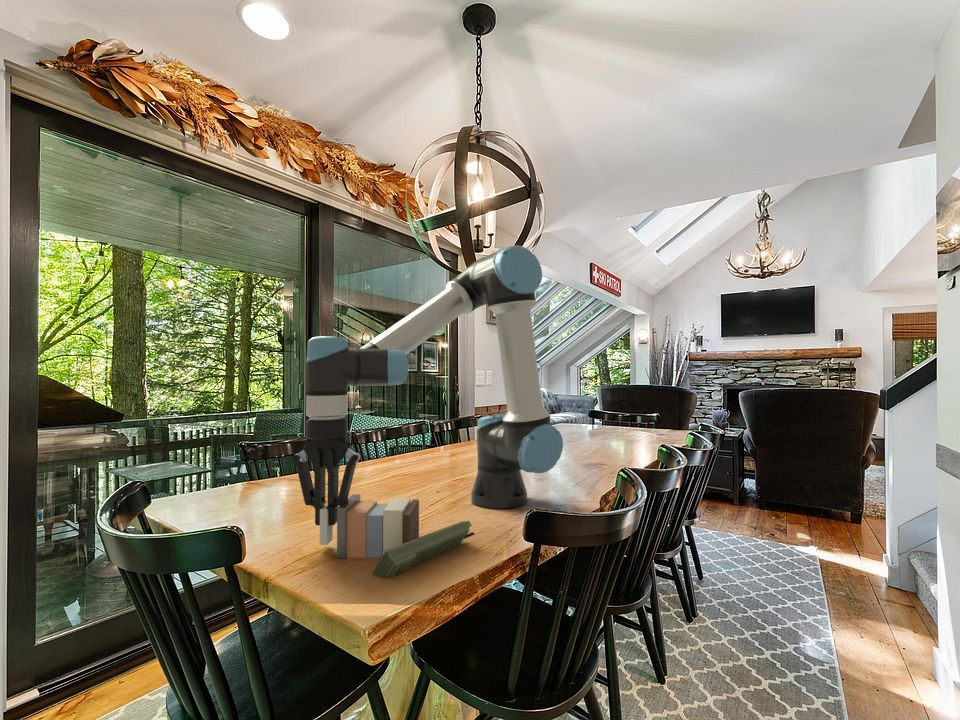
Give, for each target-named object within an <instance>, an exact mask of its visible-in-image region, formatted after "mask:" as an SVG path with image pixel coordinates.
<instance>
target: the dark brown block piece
mask: <svg viewBox="0 0 960 720" xmlns="http://www.w3.org/2000/svg"><path fill="white" fill-rule="evenodd" d="M419 537H420V499H414V498H413V499H411V503H410V505H409V506H408V508H407V510H406V511H405V513H404V514H403V544H404V543H406V542H409V541H411V540H414V539H417V538H419Z"/></svg>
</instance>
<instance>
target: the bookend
mask: <svg viewBox="0 0 960 720" xmlns="http://www.w3.org/2000/svg"><path fill="white" fill-rule="evenodd" d="M359 501H361V494H359V493H358V494H357V493H356V494H353V493H352V494H351V495H350V496H348V499H347V500H346V501H345V502H343V503H342V504H341V505H340V506H338V508H337V523H336V559H343V560H344V559H346V513H347V512H348V511H349V510H350V509H351V508H352V507H353V506H354V505H355V504H356V503H358V502H359Z"/></svg>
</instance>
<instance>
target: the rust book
mask: <svg viewBox="0 0 960 720" xmlns="http://www.w3.org/2000/svg"><path fill="white" fill-rule="evenodd" d="M376 504H378V500H360V501H359V502H358V503H356V504H355V505H354V506H353V507H352V508H351V509H350V510H349V511H348V512H347V513H346V558H347V559H351V558H353V559H363V558H364V559H365V558H367V557H366V515H367V514H368V513H369V512H370V510H371V509H372V508H373V507H374V506H375V505H376ZM346 558H345V559H346Z"/></svg>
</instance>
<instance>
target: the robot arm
mask: <svg viewBox="0 0 960 720" xmlns="http://www.w3.org/2000/svg"><path fill="white" fill-rule="evenodd" d="M540 263H541V262H540V261H539V259H538V258H537V256H536V255H535V254H534V253H532V252H531V251H530V249H528V248H527V247H525V246H521V245H510V246H507V247H502V248H500V249H498V250H497V251H495V252H492V253H491V254H489V255H488V254H487V255H486V256H484V257H482V258H479V259H477V260H475V261H474V262H473V263H471V264H470V265H469V266H468V267H467V268H466V269H465V270H463V271H461V273H459V274H458V275H457V276H455V277H454V278H452V279H451V280H450V281H448V282H447V283H446V286H445V289H444V290H442V291H441V292H439V293H438V294H437V295H435V296H434V297H432V298H431V299H429V300H428V301H427V302H425V303H424V304H422V305H420V306H419V307H418V308H416V309H415V310H413V311H412V312H410V313H409V314H408V315H406V316H405V317H403V318H402V319H400V320H398V321H397V322H396V323H394V324H393V325H392V326H390V327H389V328H387V329H386V330H384V331H383V332H381V333H380V334H379V335H377V336H376V337H374V338H373V339H371V340H370V341H369V342H367V343H365V344H364V345H363V346H361V347H359V348H355V347H350V346H349V341H348V339H347V338H346V337H345V336H344V337H343V336H332V335H331V336H328V335H327V336H325V335H322V336H314V337H311V338H310V339H309V340H308V341H307V348H306V359H305V363H306V364H305V365H306V368H305V370H306V372H305V373H306V374H305V376H306V378H305V379H306V380H305V381H306V382H305V383H306V386H305V387H306V391H305V392H306V396H305V398H306V399H305V401H306V402H305V415H306V416H307V417H308V418H307V420H306V421H305V439H306V440H305V443H304V445H303V449H302V450H301V451H299V452H297V453H296V454H292V455H291V461H292V463H293V464H294V465H295V467H296V471H297V474H298V475H297V476H298V480H299V484H300V487H301V492H302V496H303V501H304V502H303V503H304V504H305V505H306V506H311V507H313V508H314V523H315V525H316V526H319V545H320V546H322V545H323V546H328V545H329V544H330V542H332V540H333V537H334V536H333V534H334V533H333V529H334V528H333V527H334V526H335V525H337V508H338V507H339V506H340V505H341V504H342V503H343V502H345V501H346V500H347V499H348V498H349V495H350V492H351V486H352V482H353V479H354V474H355V471H356V465H358V462H359V461H360V459H361V458H362V454H361V453H360V452H355V451H354V450H352V449H351V446H350V443H349V442H348V419H347V417H345V416H346V415H348V387H350V386H351V387H355V386H367V387H369V386H376V387H377V386H388V387H391V386H399V385H402V384H404V383H405V382H406V380H407V378H408V374H409V361H408V359H409V358H408V356H407V355H408V354H410V353H411V352H412V351H414V350H415V349H416V348H417V347H419V346H420V345H422V344H423V343H425V342H426V341H427V340H429V339H430V338H431V337H433V336H434V335H435V334H437V333H438V332H439V331H441V330H442V329H444V328H445V327H446V326H448V325H449V324H451V323H452V322H454V321H455V320H456V319H457V318H458V317H460V316H461V315H463V314H464V315H468V314H469V315H470V314H471V313H472V312H474V311H475V310H476V309H478V308H480V307H482V306H486V305H487V308H488V309H489V310H490V311H491V312H492V313H494V315H495V323H496V330H497V331H496V333H497V339H498V345H499V348H498V349H499V353H500V355H499V356H500V361H501V369H502V371H501V372H502V377H503V384H504V385H503V386H504V394H505V401H506V402H505V403H506V410H507V412H506V413H505V414H503V415H502V414H500V415H489V416H488V415H487V416H482V417H480V418H479V419H478V420H477V426H476V433H477V435H476V436H477V437H476V440H477V443H476V444H477V445H476V446H477V449H476V451H477V473H476V477H475V480H474V483H473V486H472V489H471V495H470V497H471V499H470V500H471V503H472V504H474V505H476V506H478V507H482V508H488V509H501V510H502V509H512V508H517V507H521V506H524V505H526V504H527V503H528V491H527V488H526V485H525V481H524V479H523V476H522V473H521V470H522V471H523V472H526V473H530V474H531V473H532V474H545V473H547V472H549V471H551V470H552V469H553V468H554V467H555V466H556V464H558V463H557V462H558V461H559V460H560V459H561V457H562V454H563V449H564V439H563V437H562V436H563V435H562V433H561V432H560V431H559V430H558V429H557V428H556V427H555V426H553V425H552V422H551V415H550V412H549V411H547V410H546V409H545V408H544V406H543V402H542V401H543V400H542V393H541V385H540V377H539V370H538V361H537V351H536V344H535V339H534V338H535V337H534V329H533V322H532V321H533V320H532V314H531V309H532V307H533V306H534V305H535V303H536V293H535V292H536V290H537V289H538V288H539V286H540V284H541V283H542V281H543V270H542V266H541V264H540ZM345 457H346V458H345ZM308 458H309V460H310V461H311V463H312V465H313V473H314V474H313V475H314V477H313V478H314V479H312V475H311V471H310V466H309V463H308ZM344 458H345V461H346V462H347V463H346V465H345V469H344V471H343V476H342V481H341V485H340V487H339V478H340V477H339V470H340V464H341V462H342V461H343V459H344ZM326 472H327V500H326ZM313 481H314V483H313ZM325 504H327V505H325Z"/></svg>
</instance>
